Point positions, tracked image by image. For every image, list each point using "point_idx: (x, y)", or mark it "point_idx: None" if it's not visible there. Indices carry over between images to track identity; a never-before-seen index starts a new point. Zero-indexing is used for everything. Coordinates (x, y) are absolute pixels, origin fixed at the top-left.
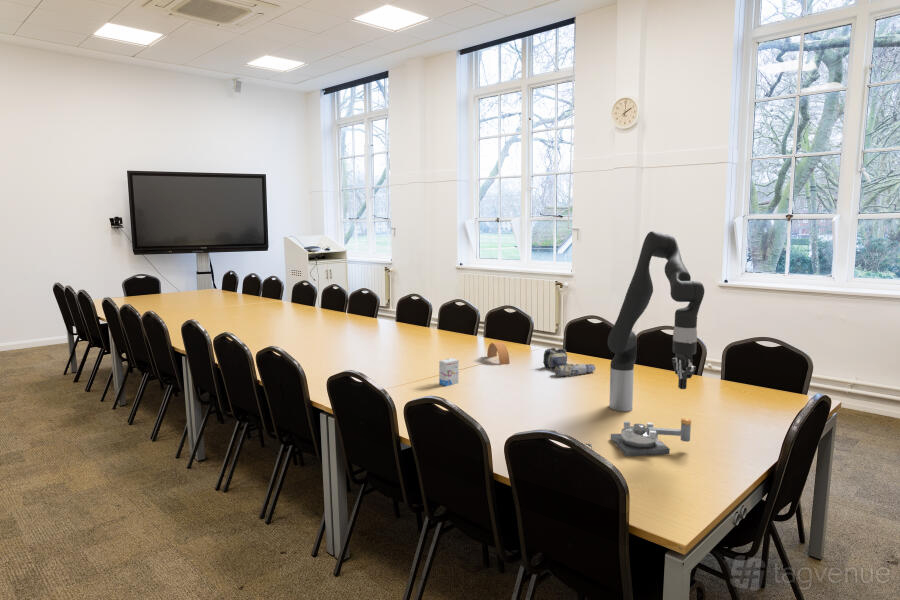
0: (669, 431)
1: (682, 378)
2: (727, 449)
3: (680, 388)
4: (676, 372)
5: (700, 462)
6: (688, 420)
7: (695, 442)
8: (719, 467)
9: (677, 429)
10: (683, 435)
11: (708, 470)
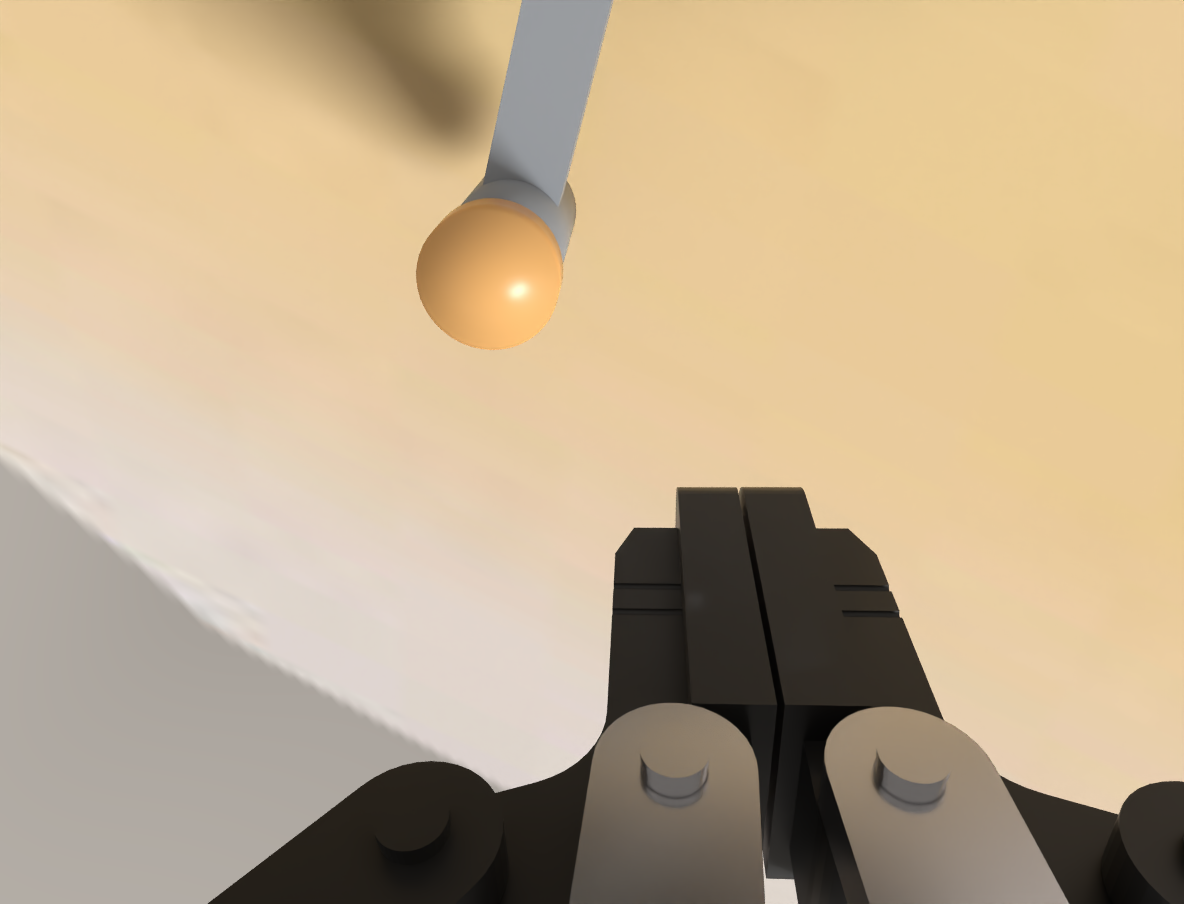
0: (521, 4)
1: (618, 759)
2: (522, 540)
3: (677, 491)
4: (1178, 870)
5: (237, 191)
6: (449, 298)
7: (701, 371)
8: (148, 304)
9: (559, 148)
10: (480, 182)
11: (64, 177)
